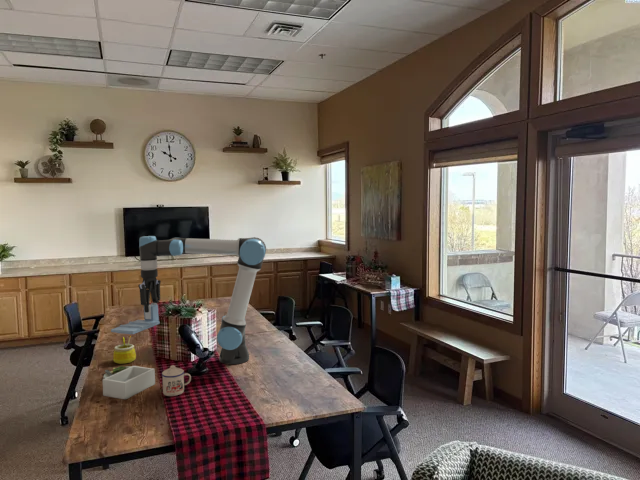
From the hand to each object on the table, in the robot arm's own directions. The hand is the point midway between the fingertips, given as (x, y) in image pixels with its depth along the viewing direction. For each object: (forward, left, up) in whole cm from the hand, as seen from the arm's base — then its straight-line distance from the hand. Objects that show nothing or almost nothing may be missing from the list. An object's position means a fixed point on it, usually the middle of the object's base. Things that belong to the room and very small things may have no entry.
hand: (151, 317), depth 232 cm
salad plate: (+9, +9, -27) cm, 30 cm away
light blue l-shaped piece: (0, +9, -3) cm, 9 cm away
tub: (-6, +22, -26) cm, 35 cm away
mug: (+24, -8, -27) cm, 37 cm away
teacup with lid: (-27, +17, -27) cm, 41 cm away
